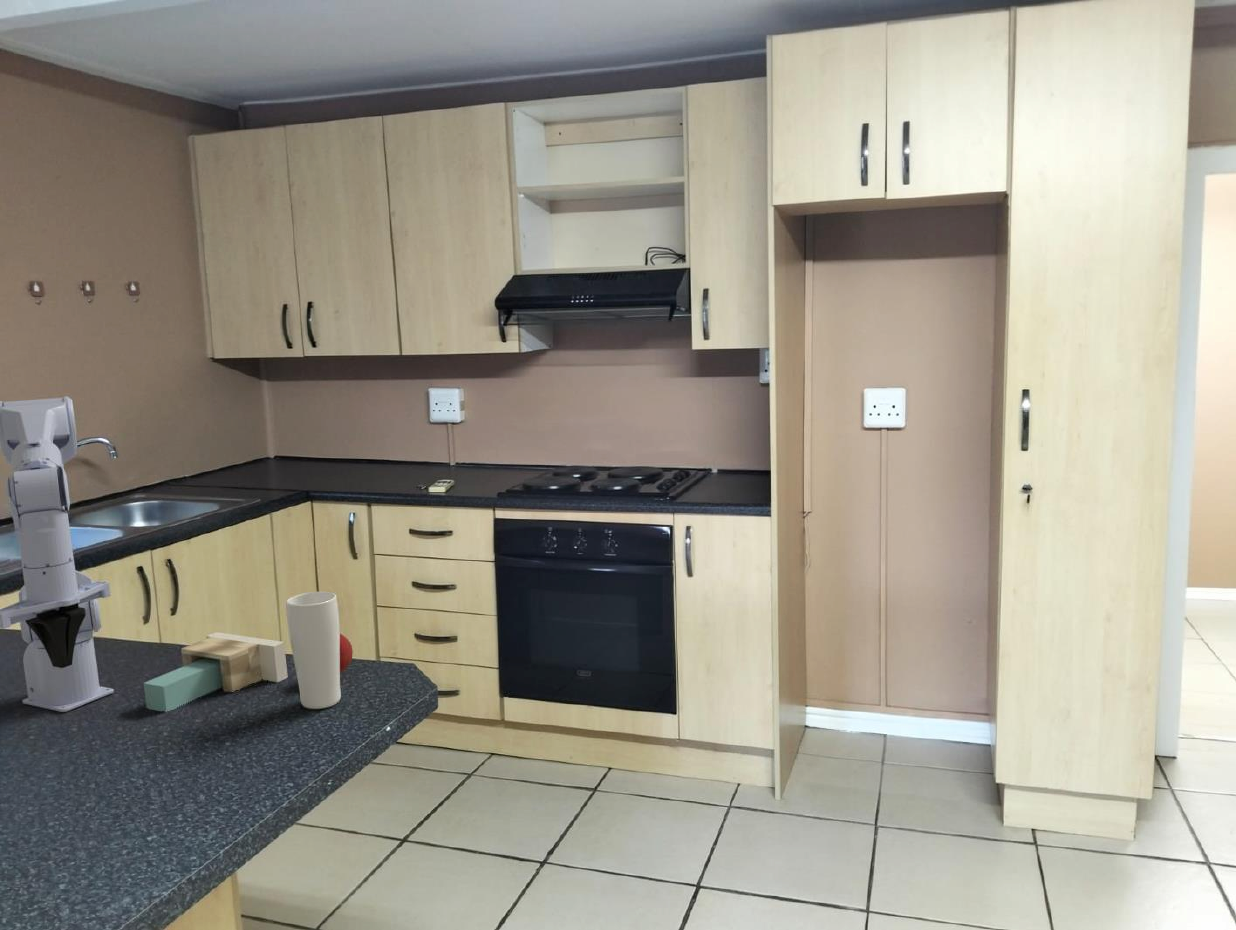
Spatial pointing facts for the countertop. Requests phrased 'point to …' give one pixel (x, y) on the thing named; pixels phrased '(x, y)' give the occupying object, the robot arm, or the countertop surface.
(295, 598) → the drinking glass
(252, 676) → the block
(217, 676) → the mint green rectangular prism
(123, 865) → the countertop surface
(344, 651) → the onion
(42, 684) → the robot arm
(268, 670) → the wall
